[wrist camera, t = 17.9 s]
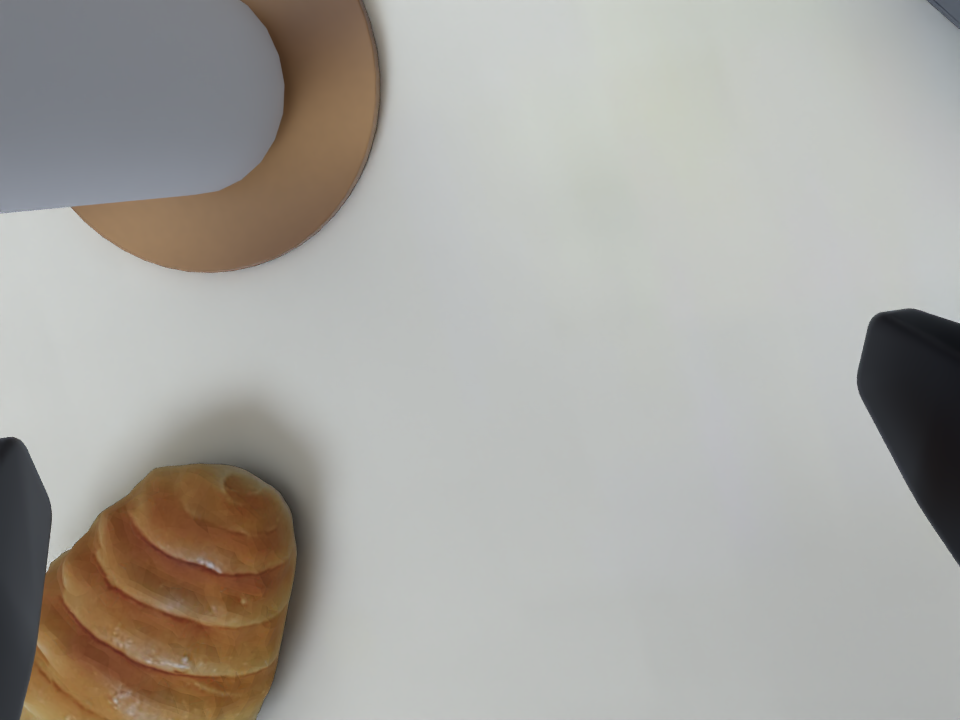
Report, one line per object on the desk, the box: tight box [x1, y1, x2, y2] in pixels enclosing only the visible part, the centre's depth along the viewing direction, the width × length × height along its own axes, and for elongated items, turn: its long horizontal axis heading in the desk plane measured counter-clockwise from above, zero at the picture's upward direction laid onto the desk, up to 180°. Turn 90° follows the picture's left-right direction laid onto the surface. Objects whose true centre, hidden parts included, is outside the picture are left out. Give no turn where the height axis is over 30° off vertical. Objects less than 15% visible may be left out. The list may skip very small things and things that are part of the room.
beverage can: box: [0, 0, 285, 213], centre depth 15 cm, size 5×5×12 cm
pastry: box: [20, 463, 297, 720], centre depth 22 cm, size 9×7×4 cm
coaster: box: [71, 0, 380, 273], centre depth 21 cm, size 9×9×1 cm
